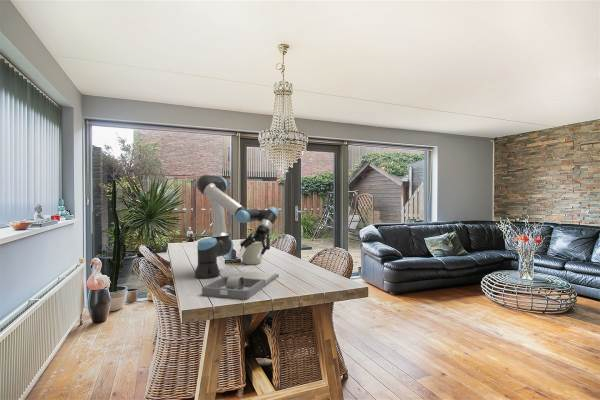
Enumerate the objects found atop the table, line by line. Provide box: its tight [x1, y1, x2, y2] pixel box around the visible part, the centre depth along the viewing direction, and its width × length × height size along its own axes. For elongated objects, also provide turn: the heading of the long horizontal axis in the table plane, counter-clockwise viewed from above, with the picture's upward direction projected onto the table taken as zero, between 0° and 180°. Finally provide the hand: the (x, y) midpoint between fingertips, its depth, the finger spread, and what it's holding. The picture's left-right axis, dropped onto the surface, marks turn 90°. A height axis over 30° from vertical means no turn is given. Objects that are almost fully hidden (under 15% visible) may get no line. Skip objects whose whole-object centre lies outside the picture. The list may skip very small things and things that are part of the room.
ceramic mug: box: [225, 276, 246, 290], centre depth 173 cm, size 11×8×8 cm
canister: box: [239, 238, 263, 265], centre depth 244 cm, size 18×18×21 cm
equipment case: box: [201, 270, 280, 300], centre depth 185 cm, size 25×47×4 cm, turn 164°
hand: (248, 257), depth 183 cm, fingers open, 13 cm apart
